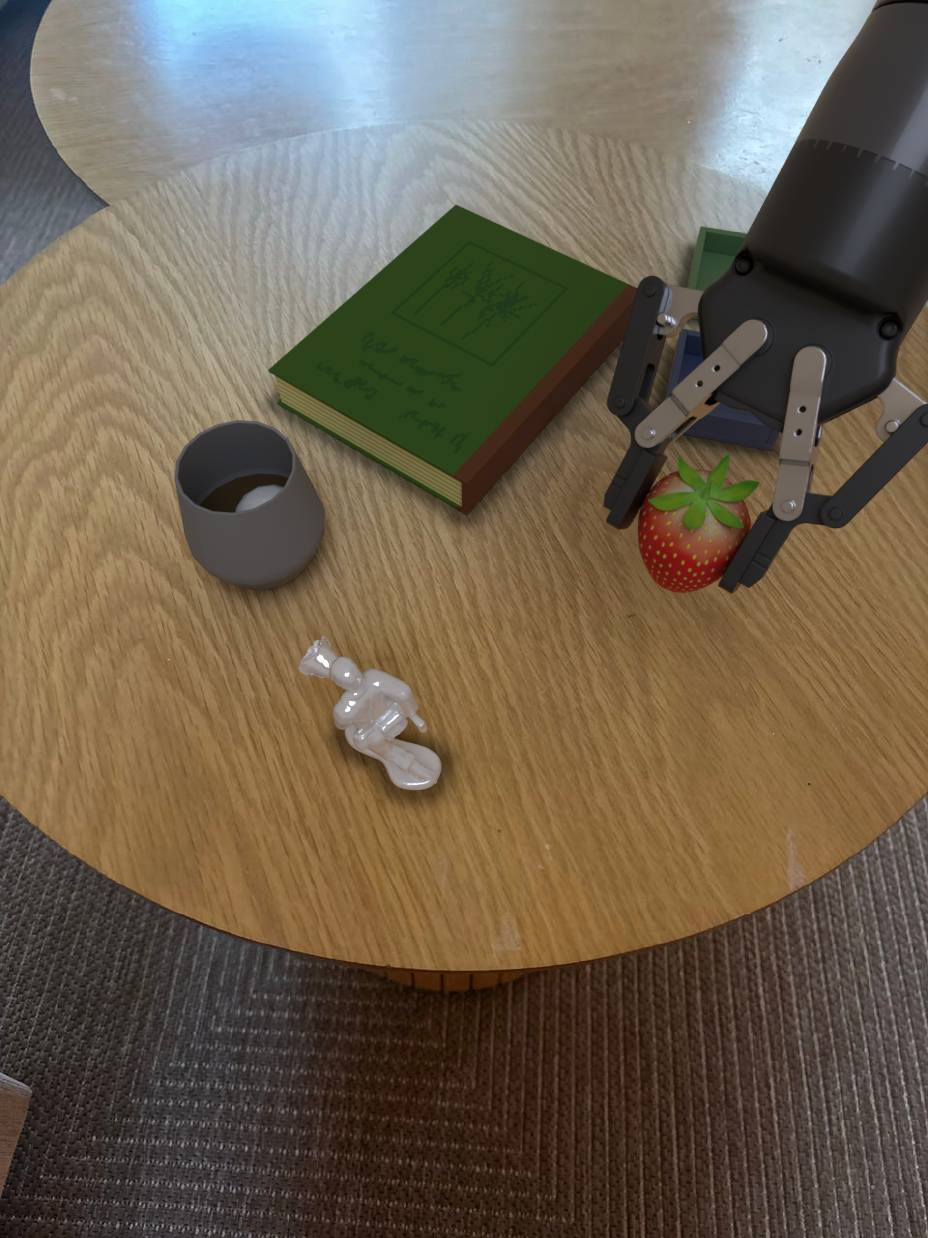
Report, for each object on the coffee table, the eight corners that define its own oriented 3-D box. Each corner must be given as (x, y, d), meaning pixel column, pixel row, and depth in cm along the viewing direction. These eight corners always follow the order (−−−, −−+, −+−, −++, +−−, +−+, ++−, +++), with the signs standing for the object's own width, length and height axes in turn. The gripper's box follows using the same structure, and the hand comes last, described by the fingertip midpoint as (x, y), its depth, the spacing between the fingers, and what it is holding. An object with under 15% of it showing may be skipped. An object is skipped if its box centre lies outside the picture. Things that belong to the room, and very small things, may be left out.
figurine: (421, 810, 54) (410, 738, 44) (295, 745, 57) (256, 661, 46) (458, 745, 56) (455, 661, 46) (335, 685, 59) (305, 591, 48)
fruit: (617, 535, 46) (642, 431, 39) (717, 531, 46) (759, 426, 39) (631, 626, 43) (660, 533, 36) (737, 622, 43) (786, 527, 36)
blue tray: (780, 370, 72) (790, 346, 70) (771, 451, 68) (781, 428, 66) (674, 352, 73) (680, 327, 71) (659, 429, 69) (665, 406, 67)
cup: (262, 482, 67) (231, 387, 58) (358, 541, 64) (341, 450, 56) (173, 568, 63) (126, 481, 54) (272, 635, 60) (239, 553, 52)
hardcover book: (467, 515, 65) (467, 483, 62) (277, 404, 71) (268, 369, 68) (639, 321, 75) (647, 285, 72) (461, 236, 81) (460, 199, 77)
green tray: (792, 266, 79) (801, 241, 76) (784, 334, 74) (794, 309, 72) (693, 250, 80) (700, 225, 77) (681, 316, 76) (687, 292, 73)
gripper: (703, 79, 33) (510, 484, 39) (1092, 223, 29) (809, 655, 35) (736, 143, 40) (566, 482, 46) (1056, 269, 36) (823, 625, 41)
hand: (672, 555), depth 40 cm, fingers closed on fruit, 5 cm apart
